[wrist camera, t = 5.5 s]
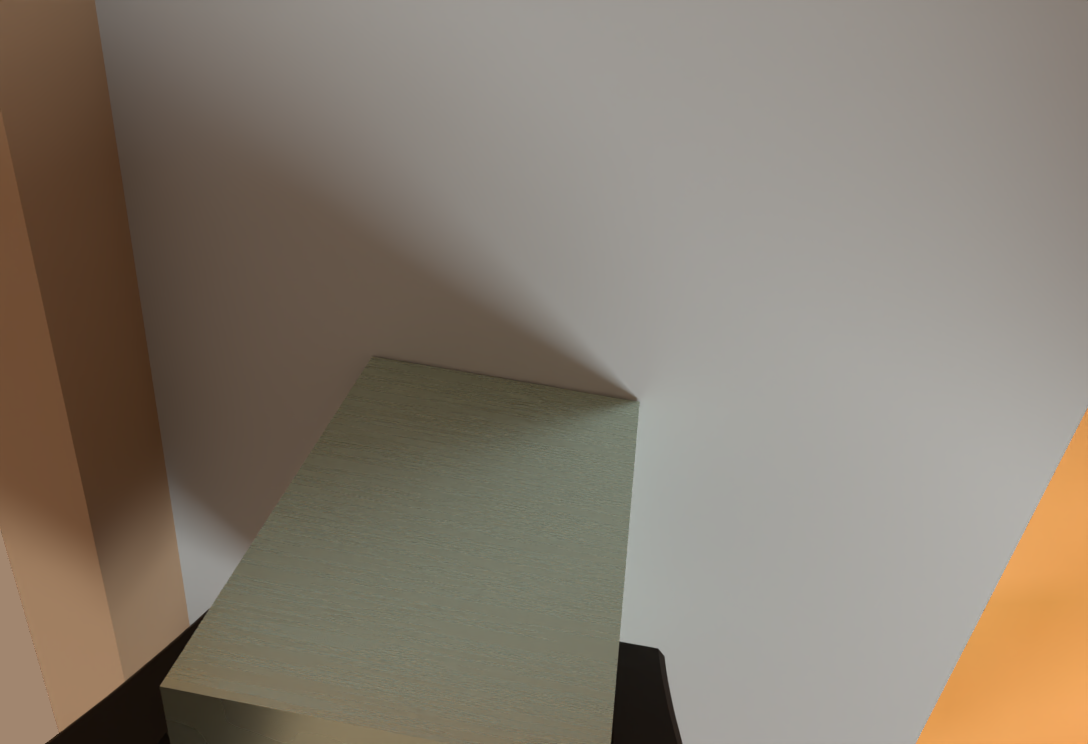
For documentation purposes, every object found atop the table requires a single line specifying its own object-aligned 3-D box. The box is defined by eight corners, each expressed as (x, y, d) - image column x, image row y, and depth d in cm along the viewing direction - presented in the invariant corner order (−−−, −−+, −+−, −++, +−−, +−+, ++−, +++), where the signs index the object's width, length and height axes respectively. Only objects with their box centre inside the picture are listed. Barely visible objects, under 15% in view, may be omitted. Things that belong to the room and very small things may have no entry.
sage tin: (639, 401, 12) (608, 774, 7) (584, 677, 16) (534, 1074, 10) (362, 355, 13) (143, 683, 8) (362, 634, 16) (207, 1001, 11)
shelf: (1529, -608, 7) (1984, -871, 5) (746, 1022, 23) (755, 1169, 20) (-117, -735, 8) (-468, -1007, 6) (197, 905, 24) (137, 1030, 21)
